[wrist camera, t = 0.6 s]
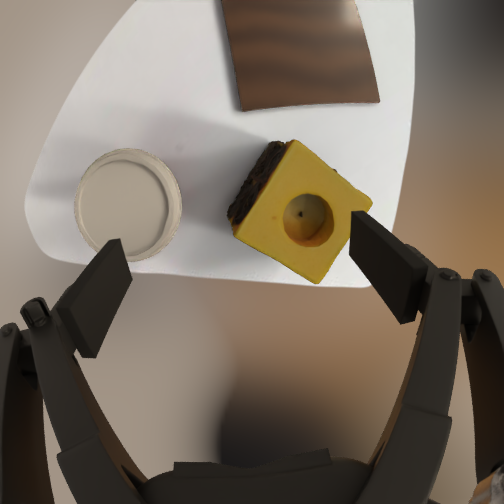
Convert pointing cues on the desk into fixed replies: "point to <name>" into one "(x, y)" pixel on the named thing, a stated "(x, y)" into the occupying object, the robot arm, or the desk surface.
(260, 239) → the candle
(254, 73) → the placemat
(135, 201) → the disposable coffee cup
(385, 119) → the desk surface
